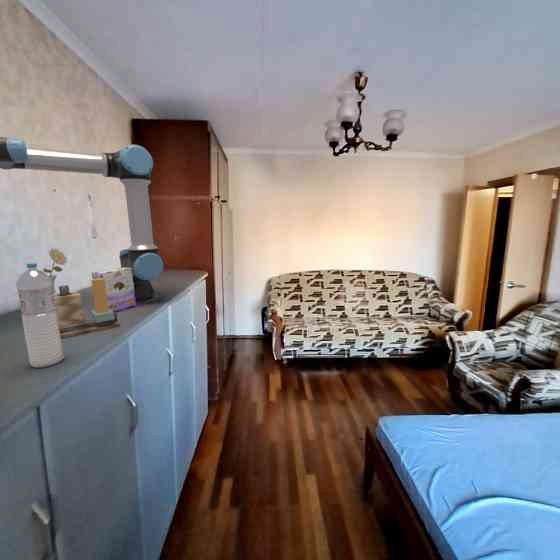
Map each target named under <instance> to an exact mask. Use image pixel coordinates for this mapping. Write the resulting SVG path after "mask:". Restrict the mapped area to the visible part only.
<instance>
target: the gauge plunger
mask: <svg viewBox="0 0 560 560" xmlns="http://www.w3.org/2000/svg"><path fill="white" fill-rule="evenodd" d="M58 292H59V293H60V296H66V295H70V292H71V291H70V286H69V285H67V284H66V285H59V286H58Z"/></svg>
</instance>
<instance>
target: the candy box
mask: <svg viewBox="0 0 560 560" xmlns="http://www.w3.org/2000/svg"><path fill="white" fill-rule="evenodd" d="M91 277H92V279H91V280H93V279H101V278H105V285H106V293H107V301H108V308H109V309H110V310H112V311H113V312H115V313H117V312H121V311H123V310H126V309H129V308H133V307H137V301H136V297H135V289H134V281H133V273H132V268H121V267H118V268H112V269H105V270H101V271H100V270H99V271H95V272H94V271H93V272H91Z"/></svg>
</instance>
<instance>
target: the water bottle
mask: <svg viewBox="0 0 560 560" xmlns="http://www.w3.org/2000/svg"><path fill="white" fill-rule="evenodd" d="M26 268H27V270H26V271H25V272H23V273H22V274H21V275H20V276H19V277H18V279H17V280H16V283H15V286H16V290H17V294H18V300H19V305H20V310H21V318H22V319H21V321H22V326H23V330H24V331H23V332H24V337H25V338H24V339H25V344H26V348H27V355H28V360H29V364H30V366H31V367H32V368H35V369H38V368H39V369H41V368H46V367H47V368H48V367H51V366H55V365H57V364H59V363H60V362H62V361H63V360H64V354H65V353H64V349H63V348H64V347H63V341H62V339H61V334H60V328H59V321H58V314H57V310H56V305H55V298H54V292H53V286H52V285H53V282H52V279H51V278H50V277H49V275H48V274H47V272H44V271H43V270H40V269H38V264H37V262H30V263H26Z"/></svg>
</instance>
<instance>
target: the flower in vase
mask: <svg viewBox="0 0 560 560" xmlns="http://www.w3.org/2000/svg"><path fill="white" fill-rule="evenodd" d="M48 254H49V256H50V259H51V260H52V261H53V263H52V269H47V268H44V267H43V270H42V272H44V273H46V274H47V273H48V274H49V275H48V276H49V277H50V278H51V279H52V282H53V285H52V286H53V292H54V294H58V293H57V292H56V289H55V281H56V279H57V277H58V276H57V275H58V274H57V275H56V274H53V275H52V273H53V271H55V272H57V273H58V272H62V271H63V268H62V267H61V266H57V265H56V266H55V264H58V265H62V266H64V265H65V264H67V263H68V260H67V259H68V257H66V255H65V254H64V252H62V251H61V252H60V250H59V249H58V248H53V247H52V248H51V249H50V250H49V251H48Z"/></svg>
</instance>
